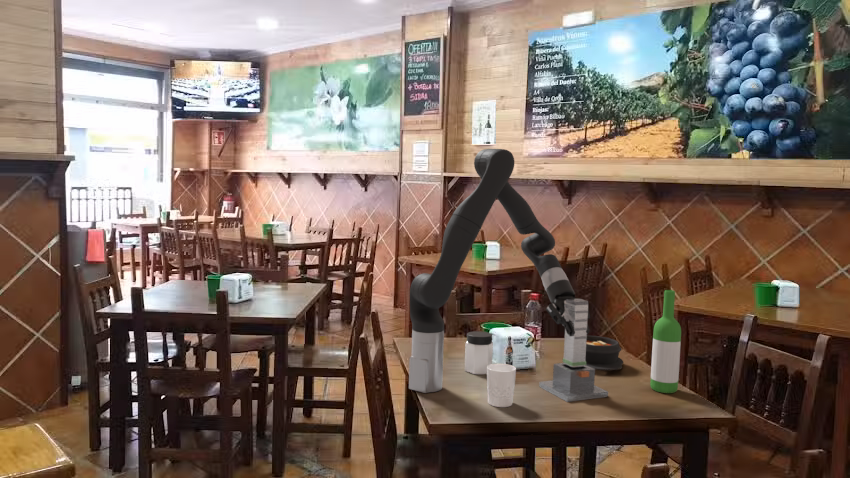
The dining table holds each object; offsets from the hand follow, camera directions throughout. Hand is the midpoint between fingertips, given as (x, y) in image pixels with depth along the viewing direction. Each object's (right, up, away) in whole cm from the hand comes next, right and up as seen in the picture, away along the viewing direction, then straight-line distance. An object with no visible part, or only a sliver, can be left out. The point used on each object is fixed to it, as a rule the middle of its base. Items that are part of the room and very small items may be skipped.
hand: (579, 334), depth 182 cm
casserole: (+13, -16, +33) cm, 39 cm away
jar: (-27, -15, +22) cm, 38 cm away
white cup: (-24, -18, -9) cm, 31 cm away
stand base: (-1, -17, +3) cm, 18 cm away
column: (-1, -9, +2) cm, 10 cm away
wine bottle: (+27, -18, +7) cm, 33 cm away
